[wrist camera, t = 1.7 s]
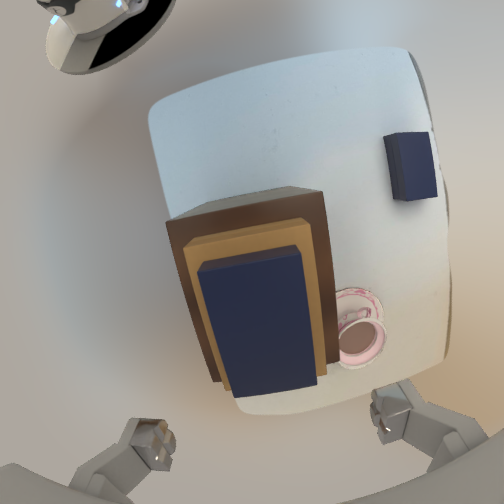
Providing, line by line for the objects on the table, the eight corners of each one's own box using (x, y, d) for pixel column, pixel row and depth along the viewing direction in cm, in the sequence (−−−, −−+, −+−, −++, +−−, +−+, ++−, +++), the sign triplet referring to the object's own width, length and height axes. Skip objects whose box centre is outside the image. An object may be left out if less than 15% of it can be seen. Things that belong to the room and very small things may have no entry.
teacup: (368, 356, 42) (381, 378, 36) (301, 352, 42) (307, 376, 36) (392, 292, 39) (410, 308, 33) (321, 282, 39) (332, 299, 33)
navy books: (383, 136, 34) (396, 132, 30) (414, 135, 33) (428, 131, 30) (393, 199, 36) (406, 201, 32) (422, 194, 36) (437, 196, 32)
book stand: (206, 202, 36) (164, 222, 19) (290, 185, 36) (322, 191, 18) (229, 300, 40) (213, 382, 22) (306, 286, 39) (340, 361, 22)
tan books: (193, 237, 19) (182, 248, 16) (301, 217, 19) (310, 223, 16) (228, 367, 22) (225, 391, 19) (319, 352, 21) (326, 374, 19)
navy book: (202, 261, 16) (196, 271, 15) (295, 243, 16) (301, 252, 14) (235, 380, 19) (233, 398, 17) (312, 367, 18) (317, 385, 16)
